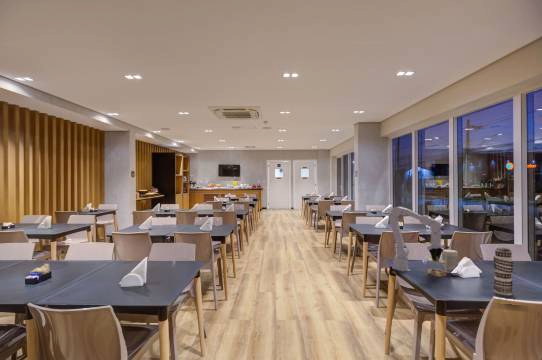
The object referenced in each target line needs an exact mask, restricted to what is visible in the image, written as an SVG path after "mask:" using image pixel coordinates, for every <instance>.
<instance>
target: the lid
mask: <svg viewBox="0 0 542 360" xmlns="http://www.w3.org/2000/svg"><path fill="white" fill-rule="evenodd" d="M425 261H426V262H429V263H432V264H437V265H440V264H441V265H442V263H446V261H442V259H441V260H440V259H439V260H438V256H436V260H432V258H426V259H425Z"/></svg>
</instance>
